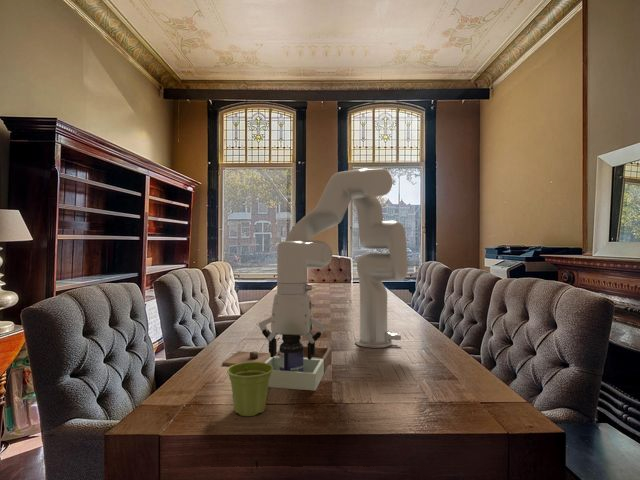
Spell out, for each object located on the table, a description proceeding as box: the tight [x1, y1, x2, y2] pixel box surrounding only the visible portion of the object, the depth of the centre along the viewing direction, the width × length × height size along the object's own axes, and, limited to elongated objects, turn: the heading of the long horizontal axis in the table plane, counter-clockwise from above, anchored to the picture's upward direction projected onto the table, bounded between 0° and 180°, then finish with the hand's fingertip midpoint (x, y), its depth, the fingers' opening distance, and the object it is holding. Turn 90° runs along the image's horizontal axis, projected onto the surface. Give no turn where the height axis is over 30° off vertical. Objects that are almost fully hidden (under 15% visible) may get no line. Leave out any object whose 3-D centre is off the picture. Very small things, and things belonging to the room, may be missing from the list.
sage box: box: [265, 356, 325, 392], centre depth 95 cm, size 15×12×4 cm
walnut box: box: [275, 345, 332, 373], centre depth 108 cm, size 15×12×4 cm
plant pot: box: [226, 362, 273, 417], centre depth 78 cm, size 9×9×9 cm
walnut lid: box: [221, 350, 270, 367], centre depth 111 cm, size 15×12×2 cm
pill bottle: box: [278, 335, 304, 372], centre depth 96 cm, size 6×6×11 cm
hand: (291, 356), depth 95 cm, fingers open, 9 cm apart
